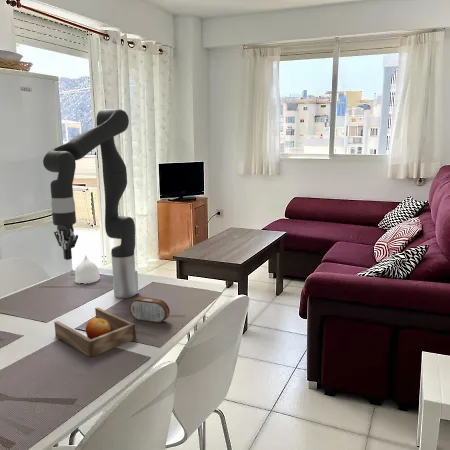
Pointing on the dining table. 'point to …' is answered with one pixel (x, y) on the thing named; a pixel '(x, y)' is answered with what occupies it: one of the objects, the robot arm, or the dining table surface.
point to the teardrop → (86, 271)
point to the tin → (149, 309)
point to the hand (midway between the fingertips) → (67, 259)
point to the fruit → (97, 328)
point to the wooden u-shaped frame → (95, 346)
